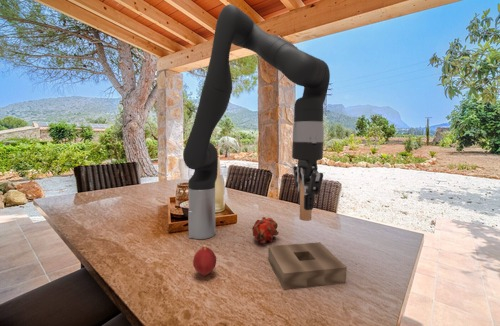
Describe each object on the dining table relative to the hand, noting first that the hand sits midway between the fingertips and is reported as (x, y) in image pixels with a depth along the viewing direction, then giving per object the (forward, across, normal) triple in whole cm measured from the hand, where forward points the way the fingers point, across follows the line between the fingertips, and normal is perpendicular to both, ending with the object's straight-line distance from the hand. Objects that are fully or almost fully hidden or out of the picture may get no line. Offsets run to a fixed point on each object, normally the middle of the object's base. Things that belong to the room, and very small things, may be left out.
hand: (305, 207), depth 62 cm
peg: (+3, 0, 0) cm, 3 cm away
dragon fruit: (+18, -19, -6) cm, 27 cm away
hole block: (+17, 0, 0) cm, 17 cm away
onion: (+17, -2, -26) cm, 31 cm away
